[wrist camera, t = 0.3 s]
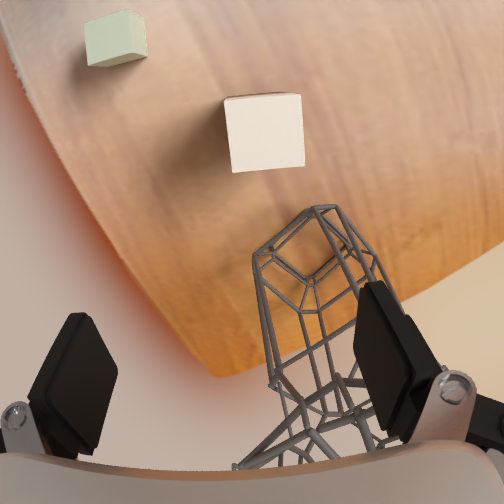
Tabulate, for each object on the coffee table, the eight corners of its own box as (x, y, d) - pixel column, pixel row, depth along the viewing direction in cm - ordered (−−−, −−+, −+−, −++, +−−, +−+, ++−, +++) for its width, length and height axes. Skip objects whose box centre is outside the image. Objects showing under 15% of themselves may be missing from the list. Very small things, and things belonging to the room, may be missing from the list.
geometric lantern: (382, 245, 44) (509, 469, 14) (300, 308, 49) (347, 542, 19) (315, 165, 38) (491, 449, 8) (224, 245, 43) (213, 541, 13)
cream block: (226, 98, 28) (223, 101, 23) (288, 92, 28) (300, 94, 23) (233, 157, 31) (232, 173, 26) (293, 151, 31) (305, 166, 26)
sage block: (104, 30, 28) (83, 23, 23) (144, 19, 28) (128, 8, 23) (108, 67, 30) (87, 65, 25) (148, 56, 30) (132, 52, 25)
